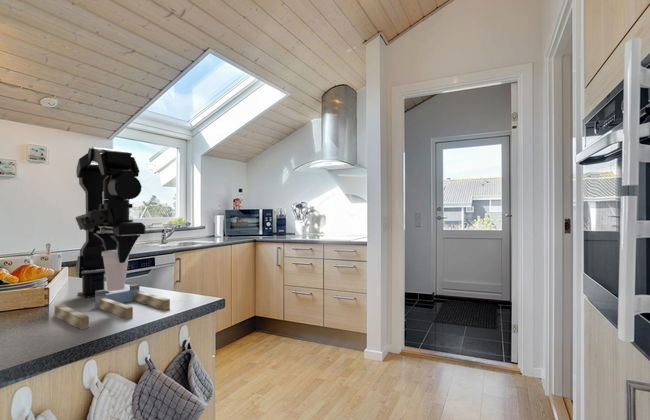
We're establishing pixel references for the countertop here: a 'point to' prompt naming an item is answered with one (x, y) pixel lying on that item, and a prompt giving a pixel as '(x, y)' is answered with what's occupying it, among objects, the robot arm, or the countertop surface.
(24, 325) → the countertop surface
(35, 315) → the countertop surface
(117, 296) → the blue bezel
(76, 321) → the divider rack
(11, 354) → the countertop surface
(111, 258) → the smoothie
